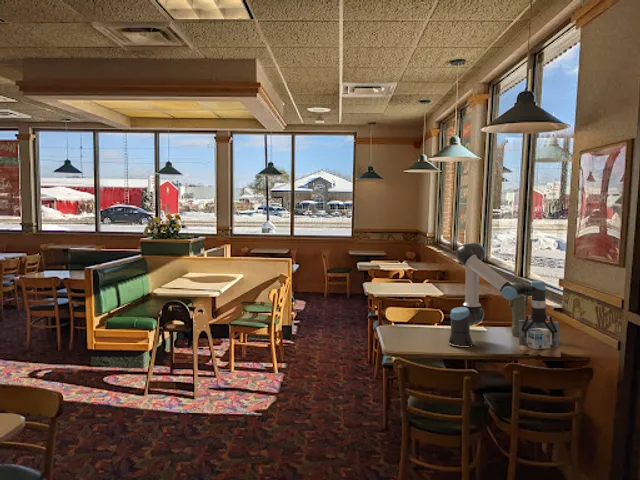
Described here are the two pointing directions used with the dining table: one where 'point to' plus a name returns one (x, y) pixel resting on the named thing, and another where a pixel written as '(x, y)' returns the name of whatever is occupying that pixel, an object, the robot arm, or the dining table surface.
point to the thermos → (518, 312)
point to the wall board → (552, 351)
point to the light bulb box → (539, 338)
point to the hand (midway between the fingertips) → (539, 343)
